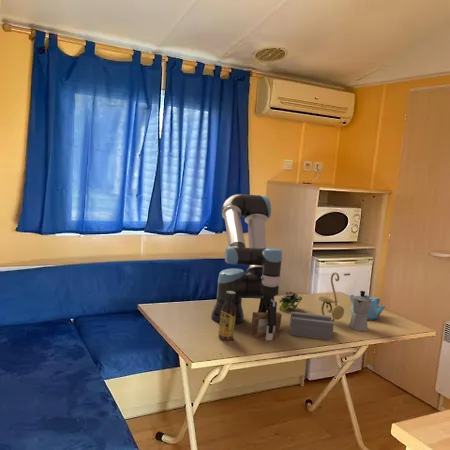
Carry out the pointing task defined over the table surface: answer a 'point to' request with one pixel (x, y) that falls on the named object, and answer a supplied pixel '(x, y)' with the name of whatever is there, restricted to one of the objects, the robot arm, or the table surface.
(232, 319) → the sauce bottle
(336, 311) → the wall sconce
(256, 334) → the picture frame
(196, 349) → the table surface
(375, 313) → the teapot
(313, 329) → the picture ledge
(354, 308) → the coffee maker
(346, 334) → the table surface
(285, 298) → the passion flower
